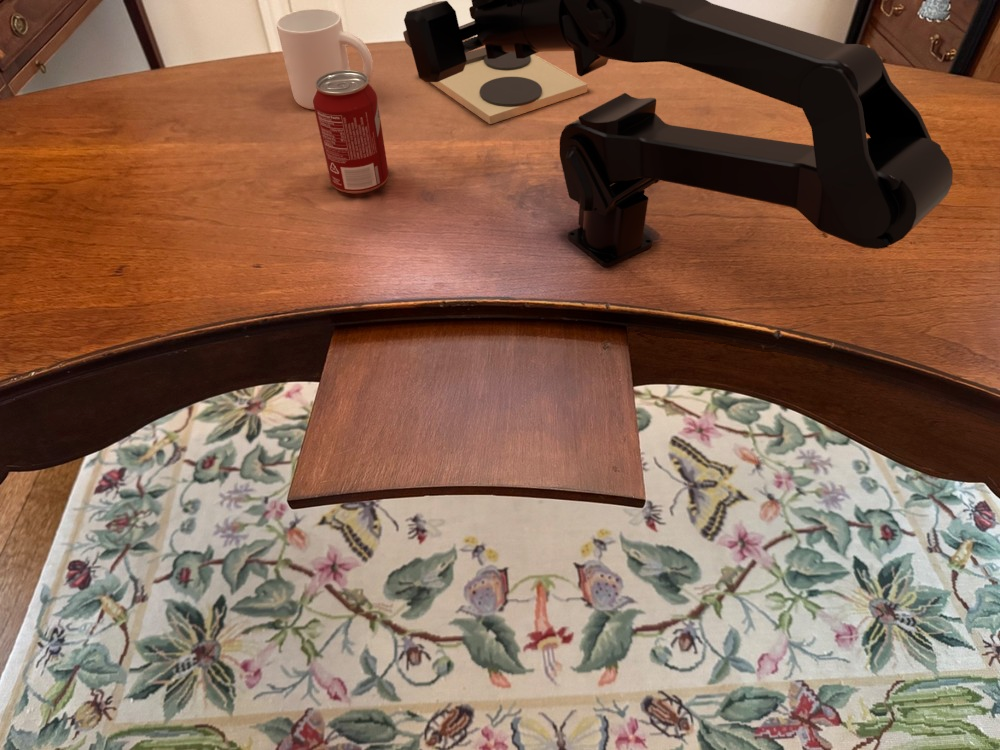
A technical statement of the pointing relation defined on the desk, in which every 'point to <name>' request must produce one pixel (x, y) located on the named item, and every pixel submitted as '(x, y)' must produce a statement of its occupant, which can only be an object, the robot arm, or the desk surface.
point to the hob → (508, 85)
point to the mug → (316, 50)
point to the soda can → (350, 131)
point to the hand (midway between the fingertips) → (439, 24)
